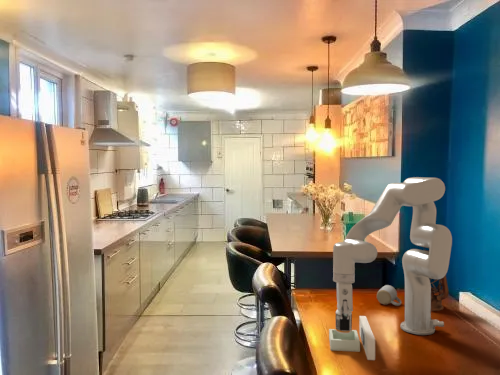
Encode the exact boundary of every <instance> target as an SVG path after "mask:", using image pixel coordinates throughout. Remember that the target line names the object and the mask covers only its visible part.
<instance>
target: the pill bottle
mask: <svg viewBox="0 0 500 375" xmlns="http://www.w3.org/2000/svg"><path fill="white" fill-rule="evenodd" d="M336 308H337V309H336V311H335V329H336V331H337V332H338V333H340V334H349V333H351V332H352V330H353V328H352V327H353V326H352V325H353V320H352V318H353V313H352V312H353V311H350V310H349V330H340V319H341V311H340V310H339V308H338V304H336ZM342 310H343V308H342ZM342 314H343V312H342Z"/></svg>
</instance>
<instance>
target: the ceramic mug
mask: <svg viewBox="0 0 500 375" xmlns="http://www.w3.org/2000/svg"><path fill="white" fill-rule="evenodd" d="M376 299H377V302H379V303H380V304H381V305H384V306H385V305H386V306H387V305H389V304H392V305H394V306H396V307H399V306H401V305H402V299H400V298H399V297H398V292H397V290H396V289H395V287H394V286H392V285H389V284H385V285H384V286H382V287H381V288H380V289H379V290H378V291H377V293H376Z"/></svg>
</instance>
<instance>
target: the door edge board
mask: <svg viewBox="0 0 500 375" xmlns="http://www.w3.org/2000/svg"><path fill="white" fill-rule="evenodd" d="M358 317H359V320H358V321H359V323H358V324H359V327H358V328H359V332H358V333H359V334H358V335H359V338H360V340H361V343H362V346H363V349H364V352H365V356H366V359H367V361H375V360H376V338H375V334H374V333H373V331H372V328H371V326H370V323H369V321H368V320H369V319H368V318H367V316H366V315H359V316H358Z"/></svg>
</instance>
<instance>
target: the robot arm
mask: <svg viewBox="0 0 500 375" xmlns="http://www.w3.org/2000/svg"><path fill="white" fill-rule="evenodd" d="M445 191H446V186H445V183H444V182H443V181H442V179H441V178H438V177H423V176H422V177H421V176H420V177H419V176H416V177H415V176H413V177H408V178H405V180H404V181H403V182H391V183H389V184H387V186H386V187H385V188H384V189H383V191H382V193H381V194H380V196H379V198H378V199H377V201H376V203H375V204H374V205H373V208H372V209H371V211H370V213H368V214H367V215H366V216H364V217H363V218H361V219H360V220H359V221H357V222H356V223H355V224H354V225H353V226H352V227H351V228H350V229H349V231H348V232H347V234H346V236H345V238H344V240H343V241H339V242H336V243H334V244H333V248H332V255H333V256H332V258H333V259H332V267H333V268H332V270H333V271H332V273H333V275H332V276H333V277H332V281H333V282H335V283H336V302H337V304H338V308H339V310H340V311H341V319H340V330H349V310H350V311H351V312H353V311H354V309H353V308H354V306H353V300H354V299H353V285H352V284H355V275H356V274H355V270H356V268H355V263H358V264H359V263H361V264H367V263H372V262H373V261H375V260H376V258H377V256H378V248H377V247H376V246H375V245H374V244H373V243H372V242H371V243H370V242H369V241H365V239H367V237H368V236H370V235H371V234H372V233H374V232H377V231H380V230H383V229H386V228H388V227H389V226H391V225H393V223H394V222H393V221H394V220H395V218H396V216H397V215H398V213H399V211H400V209H401V208H402V207H404V206H405V207H412V217H411V218H412V219H411V225H410V233H409V234H410V235H409V239H410V242H411V243H412V244H413V245H415V246H417V247H418V246H419V247H422V248H424V247H425V248H426V249H429V252H428V251H425V250H424V249H423V250H422V249H418V248H411V249H409V250H407V251H405V252H404V254H403V256H402V258H401V261H402V262H401V263H402V269H403V274H404V321H402V322H401V323H400V329H401V330H402V331H404V332H405V333H408V334H412V335H416V336H427V335H429V336H430V335H432V334H435V331H436V327H439V328H440V327H445V322H444V321H440V320H439V319H433V318H432V317H431V316H432V315H431V314H432V311H431V287H432V285H431V284H430V283H431V282H430V281H431V280H432V279H433V280H436V279H438V280H440V279H441V278H443V277H444V276H445V275H446V276H447V273H448V270H449V265H450V258H451V252H452V247H453V236H452V232H451V231H450V229H449V228H448V227H447V226H445V225H443V224H436V223H437V222H436V221H437V207H436V204H435V202H436V201H438V200H440V199H441V198H443V196H444V194H445ZM430 278H431V279H430ZM429 279H430V280H429ZM337 304H336V305H337ZM338 308H337V309H338ZM342 308H343V310H342ZM342 312H343V314H342Z"/></svg>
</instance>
